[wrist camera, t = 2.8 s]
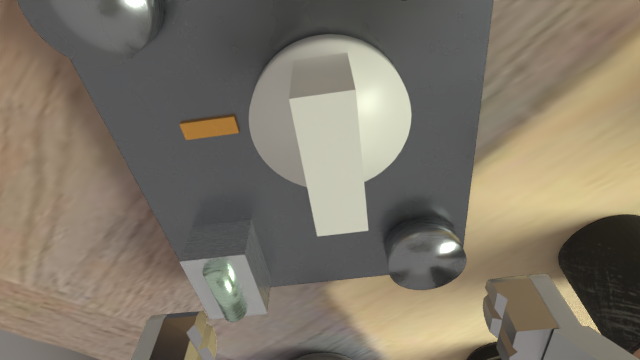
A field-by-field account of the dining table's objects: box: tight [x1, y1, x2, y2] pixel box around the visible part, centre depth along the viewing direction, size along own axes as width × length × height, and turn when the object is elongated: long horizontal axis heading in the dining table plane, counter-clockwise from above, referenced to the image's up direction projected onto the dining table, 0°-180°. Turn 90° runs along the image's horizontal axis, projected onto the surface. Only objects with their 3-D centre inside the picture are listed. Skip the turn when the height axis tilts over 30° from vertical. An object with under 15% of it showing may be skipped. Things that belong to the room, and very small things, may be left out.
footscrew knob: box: [249, 34, 411, 236], centre depth 19 cm, size 11×8×6 cm
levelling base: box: [17, 0, 493, 322], centre depth 21 cm, size 24×20×6 cm
